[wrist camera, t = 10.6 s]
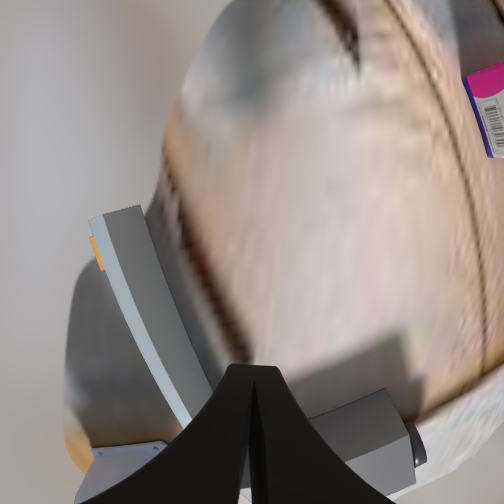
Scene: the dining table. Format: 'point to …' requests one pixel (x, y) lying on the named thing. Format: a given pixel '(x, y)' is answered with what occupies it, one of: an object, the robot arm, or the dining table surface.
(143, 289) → the side door
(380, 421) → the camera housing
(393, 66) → the dining table surface
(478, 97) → the supplement box
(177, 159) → the dining table surface
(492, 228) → the dining table surface
